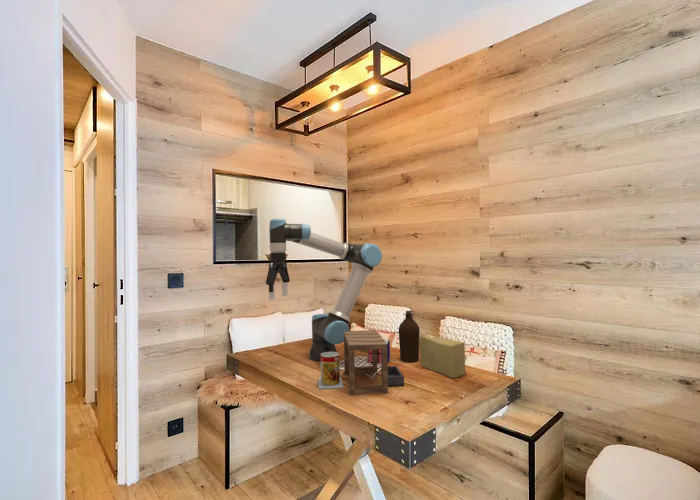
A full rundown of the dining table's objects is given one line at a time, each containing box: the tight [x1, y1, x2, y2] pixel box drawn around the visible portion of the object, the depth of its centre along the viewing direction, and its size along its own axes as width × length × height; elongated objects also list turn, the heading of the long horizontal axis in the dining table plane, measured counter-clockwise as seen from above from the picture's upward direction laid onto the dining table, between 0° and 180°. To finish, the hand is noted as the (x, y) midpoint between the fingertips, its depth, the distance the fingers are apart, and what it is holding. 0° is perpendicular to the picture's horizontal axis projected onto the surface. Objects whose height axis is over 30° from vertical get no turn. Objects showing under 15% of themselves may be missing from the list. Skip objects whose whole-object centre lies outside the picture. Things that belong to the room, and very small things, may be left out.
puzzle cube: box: [367, 338, 391, 364], centre depth 190 cm, size 10×10×10 cm
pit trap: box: [380, 365, 405, 388], centre depth 160 cm, size 14×7×4 cm, turn 5°
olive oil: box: [398, 310, 421, 363], centre depth 190 cm, size 11×11×25 cm
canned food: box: [320, 351, 341, 386], centre depth 157 cm, size 8×8×12 cm
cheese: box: [419, 334, 466, 379], centre depth 172 cm, size 22×10×15 cm, turn 38°
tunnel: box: [343, 329, 389, 396], centre depth 158 cm, size 27×15×19 cm, turn 5°
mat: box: [318, 376, 344, 390], centre depth 157 cm, size 12×10×1 cm
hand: (278, 297), depth 174 cm, fingers open, 13 cm apart
